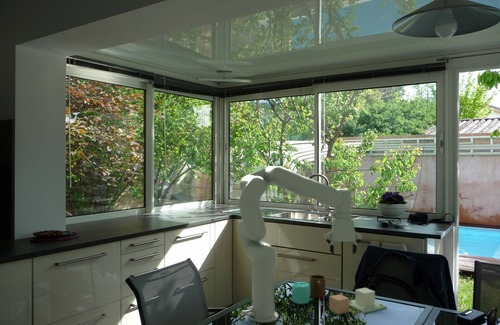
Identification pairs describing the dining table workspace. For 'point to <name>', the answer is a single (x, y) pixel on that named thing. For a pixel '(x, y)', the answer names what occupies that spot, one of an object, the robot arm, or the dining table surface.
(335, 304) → the orange tan cube
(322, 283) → the mug
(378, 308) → the tower plate
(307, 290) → the turquoise cylinder
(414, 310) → the dining table surface
